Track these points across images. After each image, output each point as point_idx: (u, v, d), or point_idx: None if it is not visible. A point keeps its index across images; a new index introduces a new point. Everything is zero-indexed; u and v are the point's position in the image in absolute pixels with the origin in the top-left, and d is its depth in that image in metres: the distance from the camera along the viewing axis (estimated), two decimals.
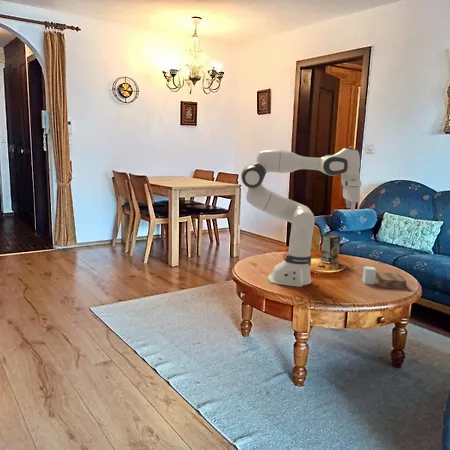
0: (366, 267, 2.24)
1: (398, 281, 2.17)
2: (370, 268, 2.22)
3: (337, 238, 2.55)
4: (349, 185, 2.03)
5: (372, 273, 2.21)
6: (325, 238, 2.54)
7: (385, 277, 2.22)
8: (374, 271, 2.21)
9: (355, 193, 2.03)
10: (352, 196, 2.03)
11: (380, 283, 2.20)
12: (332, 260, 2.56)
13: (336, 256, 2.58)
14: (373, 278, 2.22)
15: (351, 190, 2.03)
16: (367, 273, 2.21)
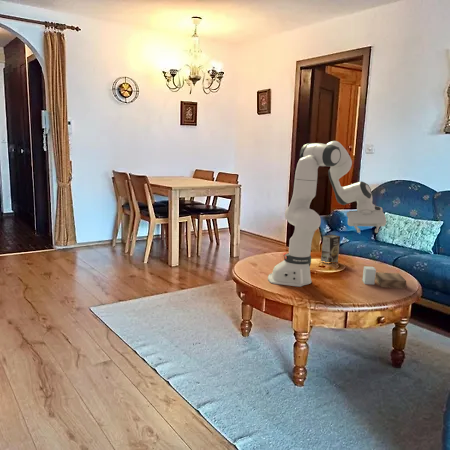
0: (366, 267, 2.24)
1: (398, 281, 2.17)
2: (370, 268, 2.22)
3: (337, 238, 2.55)
4: (382, 210, 2.37)
5: (372, 273, 2.21)
6: (325, 238, 2.54)
7: (385, 277, 2.22)
8: (374, 271, 2.21)
9: None
10: None
11: (380, 283, 2.20)
12: (332, 260, 2.56)
13: (336, 256, 2.58)
14: (373, 278, 2.22)
15: None
16: (367, 273, 2.21)
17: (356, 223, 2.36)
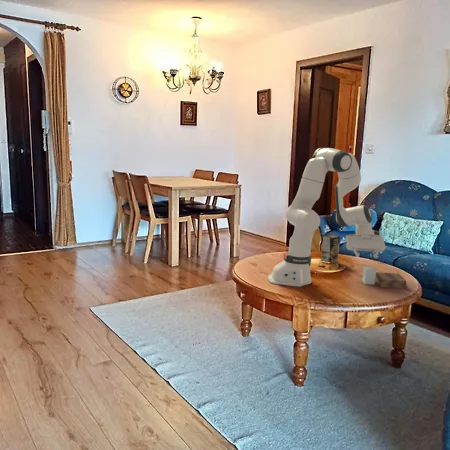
0: (366, 267, 2.24)
1: (398, 281, 2.17)
2: (370, 268, 2.22)
3: (337, 238, 2.55)
4: None
5: (372, 273, 2.21)
6: (325, 238, 2.54)
7: (385, 277, 2.22)
8: (374, 271, 2.21)
9: None
10: None
11: (380, 283, 2.20)
12: (332, 260, 2.56)
13: (336, 256, 2.58)
14: (373, 278, 2.22)
15: None
16: (367, 273, 2.21)
17: (355, 247, 2.33)
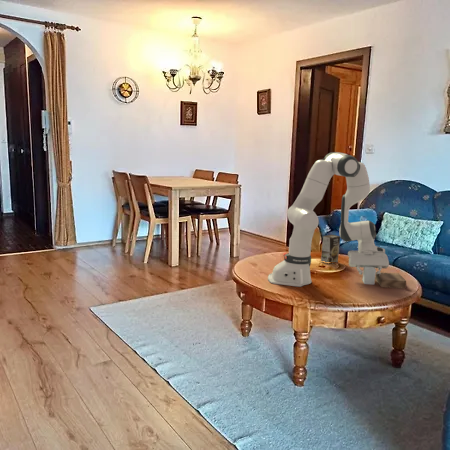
0: (366, 267, 2.24)
1: (398, 281, 2.17)
2: (370, 268, 2.22)
3: (337, 238, 2.55)
4: (384, 251, 2.28)
5: (372, 273, 2.21)
6: (325, 238, 2.54)
7: (385, 277, 2.22)
8: (374, 271, 2.21)
9: None
10: None
11: (380, 283, 2.20)
12: (332, 260, 2.56)
13: (336, 256, 2.58)
14: (373, 278, 2.22)
15: None
16: (367, 273, 2.21)
17: (358, 264, 2.25)
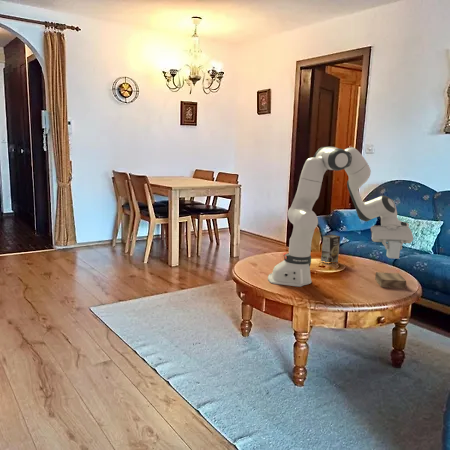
0: (390, 241, 2.20)
1: (398, 281, 2.17)
2: (395, 242, 2.18)
3: (337, 238, 2.55)
4: (408, 226, 2.24)
5: (397, 246, 2.17)
6: (325, 238, 2.54)
7: (385, 277, 2.22)
8: (399, 245, 2.17)
9: None
10: None
11: (380, 283, 2.20)
12: (332, 260, 2.56)
13: (336, 256, 2.58)
14: (398, 252, 2.18)
15: None
16: (392, 247, 2.18)
17: (381, 239, 2.21)
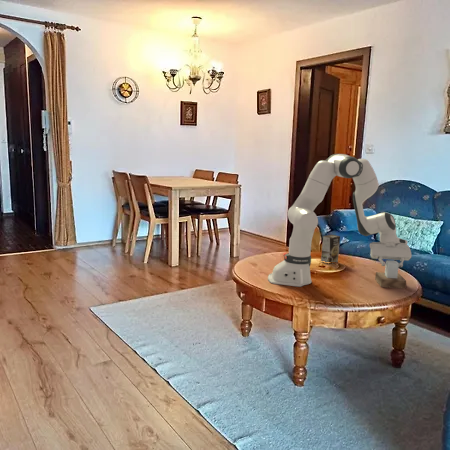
0: (389, 261, 2.22)
1: (398, 281, 2.17)
2: (393, 262, 2.20)
3: (337, 238, 2.55)
4: None
5: (395, 266, 2.19)
6: (325, 238, 2.54)
7: (385, 277, 2.22)
8: (397, 265, 2.19)
9: None
10: None
11: (380, 283, 2.20)
12: (332, 260, 2.56)
13: (336, 256, 2.58)
14: (396, 272, 2.20)
15: None
16: (390, 267, 2.20)
17: (380, 256, 2.23)
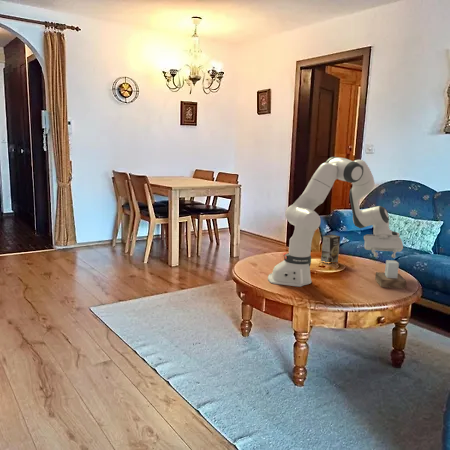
0: (389, 261, 2.22)
1: (398, 281, 2.17)
2: (393, 262, 2.20)
3: (337, 238, 2.55)
4: None
5: (395, 266, 2.19)
6: (325, 238, 2.54)
7: (385, 277, 2.22)
8: (397, 265, 2.19)
9: None
10: None
11: (380, 283, 2.20)
12: (332, 260, 2.56)
13: (336, 256, 2.58)
14: (396, 272, 2.20)
15: None
16: (390, 267, 2.20)
17: (373, 247, 2.36)
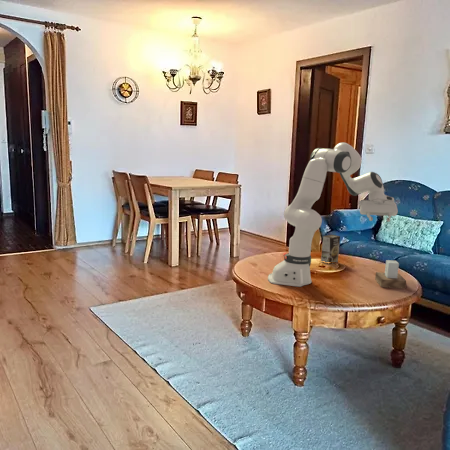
0: (389, 261, 2.22)
1: (398, 281, 2.17)
2: (393, 262, 2.20)
3: (337, 238, 2.55)
4: (393, 200, 2.42)
5: (395, 266, 2.19)
6: (325, 238, 2.54)
7: (385, 277, 2.22)
8: (397, 265, 2.19)
9: None
10: None
11: (380, 283, 2.20)
12: (332, 260, 2.56)
13: (336, 256, 2.58)
14: (396, 272, 2.20)
15: None
16: (390, 267, 2.20)
17: (369, 211, 2.40)
